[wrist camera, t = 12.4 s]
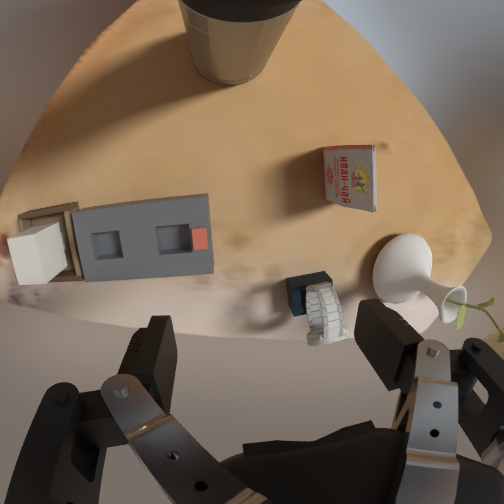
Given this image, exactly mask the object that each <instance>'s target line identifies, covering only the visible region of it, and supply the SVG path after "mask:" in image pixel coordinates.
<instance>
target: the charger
mask: <svg viewBox="0 0 504 504" xmlns="http://www.w3.org/2000/svg"><path fill="white" fill-rule="evenodd" d="M7 241H8V245H9V250H10V254H11V258H12V262H13V266H14V269H15V273H16V276H17V280H18V283H19V285H36V284H47V283H48V282H49V281H50V280H51V279H53V278H54V277H55V276H56V275H57V274H58V273H60V272H61V271H62V270H63V269H64V268H66V267H67V266H68V265H67V261H66V256H65V252H64V250H65V249H66V248H65V243H64V238H63V233H60V227H59V222H56V223H50V224H45V225H39V226H34V227H31V228H28V229H26V230H24V231H22V232H20V233H18V234H16V235H14V236H12V237H10V238H8V239H7Z"/></svg>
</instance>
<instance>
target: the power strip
mask: <svg viewBox="0 0 504 504" xmlns="http://www.w3.org/2000/svg"><path fill="white" fill-rule="evenodd" d="M72 218H73V224H74V230H75V236H76V241H77V246H78V251H79V256H80V260H81V264H82V269H83V273H84V277H85V281H86V282H91V281H109V280H126V279H142V278H158V277H173V276H187V275H201V274H214V258H213V247H212V235H211V223H210V211H209V197H208V194H197V195H186V196H175V197H165V198H156V199H147V200H139V201H131V202H123V203H115V204H108V205H101V206H94V207H88V208H83V209H80V210H78V211H76V212H73V213H72Z"/></svg>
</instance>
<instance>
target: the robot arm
mask: <svg viewBox="0 0 504 504" xmlns="http://www.w3.org/2000/svg"><path fill="white" fill-rule="evenodd" d="M300 1H302V0H178V2H179V6H180V9H181V13H182V17H183V21H184V25H185V29H186V32H187V36H188V40H189V44H190V48H191V52H192V56H193V59H194V63H195V66H196V67H197V69H198V71H199V72H200V73H201V74H202V75H203V76H204V77H206V78H207V79H208V80H210V81H213V82H215V83H218V84H223V85H237V84H242V83H245V82H248V81H250V80H252V79H253V78H255V77H256V76H257V75H258V74H260V72H261V71H262V70H263V69H264V67H265V65H266V63H267V61H268V59H269V58H270V56H271V54H272V52H273V50H274V48H275V46H276V44H277V43H278V41H279V39H280V37H281V35H282V33H283V32H284V30H285V28H286V26H287V24H288V23H289V21H290V19H291V17H292V16H293V13H294V12H295V10H296V8H297V7H298V5H299V3H300ZM354 337H355V341H356V343H357V345H358V346H359V348H360V349H361V351H362V352H363V353H364V355H365V356H366V358H367V359H368V361H369V362H370V364H371V365H372V367H373V368H374V370H375V371H376V373H377V374H378V376H379V377H380V379H381V380H382V382H383V383H384V385H385V386H386V388H387V389H388V391H391V390H395V389H398V388H400V390H401V392H400V394H399V397H398V401H397V405H396V410H395V414H394V418H393V422H392V426H391V429H388V428H375V426H374V424H373V422H372V421H371V420H370V421H367V422H363V423H360V424H356V425H352V426H348V427H344V428H341V429H340V430H338V431H335V432H333V433H331V434H329V435H327V436H325V437H322V438H320V439H318V440H315V441H310V442H307V441H306V442H305V441H304V442H303V441H280V440H275V441H267V442H258V443H247V444H243V453H240V454H237V455H234V456H232V457H229V458H228V459H225V460H223V461H221V462H220V463H219V462H218V461H217V460H216V459H215V458H214V457H213V456H212V455H211V454H210V453H209V452H208V451H207V450H205V448H203V447H202V446H201V445H200V444H199V442H197V441H196V439H195V438H193V436H192V435H191V434H190V433H189V432H188V431H187V430H186V429H185V428H184V427H183V426H182V425H181V424H180V423H179V422H178V420H177V419H176V418H175V417H174V416H173V415H171V414H169V413H170V406H171V398H172V391H173V384H174V378H175V371H176V365H177V346H176V341H175V336H174V331H173V325H172V320H171V317H170V315H165V316H152V317H151V319H150V322H149V324H148V327H147V328H140V329H139V330H138V331H136V332H135V333H134V334H133V336H132V338H131V340H130V343H129V345H128V348H127V352H126V353H125V355H124V358H123V360H122V363H121V366H120V368H119V371H118V373H117V375H114V376H112V377H110V378H108V379H107V380H106V381H105V382H104V383H103V384H102V386H101V389H100V390H96V391H90V392H84V393H79V391H78V389H77V388H76V386H75V385H73V384H71V383H66V382H62V383H57V384H55V385H53V386H51V387H50V388H49V389H48V390H47V391H46V393H45V394H44V396H43V399H42V401H41V403H40V405H39V407H38V410H37V412H36V414H35V416H34V419H33V421H32V424H31V426H30V428H29V431H28V433H27V436H26V438H25V441H24V443H23V446H22V449H21V451H20V454H19V457H18V460H17V463H16V465H15V469H14V471H13V475H12V478H11V481H10V484H9V488H8V492H7V495H6V499H5V503H4V504H98V501H99V493H100V487H101V480H102V473H103V467H104V461H105V455H106V450H107V447H113V446H119V445H126V444H129V445H130V447H131V449H132V450H133V451H134V453H135V455H136V456H137V457H138V459H139V460H140V462H141V463H142V465H143V466H144V467H145V469H146V470H147V472H148V473H149V474H150V476H151V477H152V478H153V479H154V481H155V482H156V484H157V485H158V486H159V487H160V489H161V490H162V491H163V492H164V494H165V495H166V496H167V497H168V499H169V500H170V501H171V502H172V503H173V504H504V360H503V359H502V358H501V357H500V356H499V355H498V354H497V353H496V352H495V351H494V350H493V349H492V348H491V347H490V346H489V345H488V344H487V343H486V342H485V341H483V340H481V339H478V338H468V339H466V340H465V341H464V344H463V346H462V349H459V350H449V349H448V348H447V346H446V345H445V344H443V343H442V342H439V341H437V340H431V339H428V340H424V339H423V338H422V336H420V334H419V333H418V332H417V331H416V330H415V329H414V328H413V327H412V326H411V325H409V323H408V322H407V321H406V320H404V319H403V317H402V316H401V315H400V314H398V313H397V312H396V311H394V310H392V309H390V308H388V307H386V306H385V305H384V304H383V303H382V302H381V301H380V300H379V299H377V298H374V299H367V300H361V301H360V303H359V306H358V312H357V318H356V323H355V329H354ZM477 380H479V381H480V382H481V383H482V385H483V386H484V387H485V388H486V390H487V391H488V394H489V398H488V401H487V403H486V405H485V404H484V403H483V402H482V400H481V399H480V398H479V397H478V395H477V394H476V393H475V392H474V390H473V387H474V385H475V384H476V382H477ZM458 423H459V424H460V426H461V428H462V429H463V431H464V432H465V434H466V435H467V437H468V438H469V440H470V441H471V443H472V445H473V446H474V448H475V449H476V451H477V452H478V454H479V456H480V458H481V463H480V462H478V461H475V460H471V459H469V458H466V457H463V456H461V455H458V454H456V449H457V434H458Z"/></svg>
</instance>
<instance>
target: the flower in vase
mask: <svg viewBox="0 0 504 504" xmlns="http://www.w3.org/2000/svg"><path fill="white" fill-rule="evenodd" d="M431 269H432V254H431V250H430V247H429V246H428V244H427V242H426V241H425V240H424V239H423V238H422V237H421V236H419V235H418V234H415V233H404V234H401V235H398V236H396V237H395V238H393V239H392V240H390V241H389V242H388V243H387V244H386V245H385V246H384V247H383V249H382V250H381V251H380V253H379V255H378V257H377V259H376V262H375V265H374V269H373V286H374V289H375V292H376V294H377V295H378V296H379V297H380V298H381V299H382V300H384V301H386V302H389V303H394V304H398V303H403V302H406V301H408V300H410V299H412V298H413V297H415V296H416V295H418V294H419V293H420V292H422V293H424V294H425V295H427V296H428V297H429V298H430V299H431V300H432V301H433V302H434V303H435V305H436V306H437V308H438V311H439V318H440V320H441V321H442V322H443V323H449V322H452V321H453V320H454V319H455V318H457V319H456V324H457V330H459V329H460V328H461V327H462V326H463V325H464V322H465V316H466V307H470V308H475V309H479V310H482V311H483V312H485V313H486V314H487V315H488V316H489V318H490V319H491V320H492V322H493V323H494V325H495V326H496V328H497V329H498V331H496V332H495V334H491V335H489V336H488V337H487V338H485V339H483V341H485V342H486V343H487V344H488V345H489V346H490V347H491V348H492V349H493V350H494V351H495V352H496V353H497V354H498V355H499V356H500V357H501V358H502V359H503V360H504V328H503V329H502V330H501V329H500V327H499V326H498V324H497V323H496V321H495V320H494V318H493V317H492V316H491V314H490V313H489V312H488V311H487V310H485V309H484V307H487V306H490V305H493V304H494V303H495V301H494V299H493V298H491V299H490V300H489V301H487V302H485V303H481V304H478V305H477V306H475V305H469V304H465V303H466V299H467V292H466V289H465V288H464V287H462V286H457V287H453V288H450V287H446V286H443V285H441V284H439V283H437V282H435V281H434V280H433V279H431V278H430V274H431Z"/></svg>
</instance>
